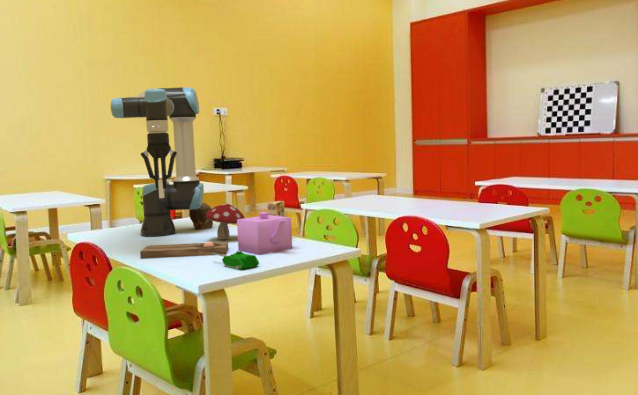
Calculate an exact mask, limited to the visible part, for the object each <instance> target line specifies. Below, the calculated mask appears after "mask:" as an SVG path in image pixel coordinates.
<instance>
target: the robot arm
mask: <svg viewBox="0 0 638 395" xmlns="http://www.w3.org/2000/svg"><path fill="white" fill-rule="evenodd" d="M196 92H197V91H196V90H195V89H194V88H193V87H185V86H183V87H182V86H181V87H159V88H158V87H157V88H150V89H149V88H148V89H145V90H144V91H142V92H141V93H139V94H138V95H134V96H128V97H127V96H126V97H121V96H120V97H114V98H112V99H111V101H110V113H111V115H112V116H113V117H114V119H134V118H145V124H146V132H147V134H146V137H147V138H146V140H147V147H146V150H144V151H142V152H141V153H140V157H142V159H143V160H144V163H145V167H146V170H147V171H146V172H147V173H148V176H149V178H150V179H151V180H152V179H153V180H154V183H149V184H146V185H143V187H142V194H141V196H142V207H143V208H142V209H143V221H142V224H141V229H140V235H141V236H142V237H161V236H163V237H164V236H170V235H174V234H176V231H177V229H176V226H175V223H174V221H173V219H172V218H173V217H172V216H171V214H172V213H171V211H180V210H181V211H184V210H188V211H189V209H190V210H191V209H199V208H200V207H201V205H202V203H203V202H204V201H203V200H204V192H205V189H204V187H205V186H204V183H202V182H200V181H201V180H200V178H199V176H197V173H196V172H197V171H196V170H197V169H196V156H195V155H196V154H195V139H194V138H195V137H194V121H195V120H196V119H197V115H199V113H200V105H199V104H200V103H199V98H198V95H197V93H196ZM168 118H169V120H170V121H171V122H172V126H173V142H174V149H172V147H171V145H170V134H169V133H168V132H169V120H168ZM149 155H150V156H151V157H152V159H153V168H152V165H151V162H150V159H149ZM168 156H170V158H169V164H168V168H167V161H166V157H168ZM159 159H160V165H161V166H160V167H161V179H160V168H159ZM174 164H175V177H174V179H173V180H172V184H171V183H170V182H169V181H168V180H167V179H169V178H171V177H172V174H173V169H174Z"/></svg>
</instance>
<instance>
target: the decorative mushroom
mask: <svg viewBox="0 0 638 395" xmlns="http://www.w3.org/2000/svg"><path fill="white" fill-rule="evenodd" d="M206 217H207V218H208V219H209V220H212V221H213V222H216V223H219V225H218V227H217V232H216V235H217V237H216V238H217V239H218V240H223V241H224V240H228V239H230V238H231V235H230V229H229V225H230V224H231V225H237V219H244V218H245V215H244V214H243V213H242V211H241V210H239V209H238V208H237V207H235V206H234V205H232V204H229V203H222V204H219V205H216V206H214V207H211V209H210V210H209V211H208V212H207V214H206Z"/></svg>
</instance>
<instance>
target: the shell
mask: <svg viewBox="0 0 638 395" xmlns="http://www.w3.org/2000/svg"><path fill="white" fill-rule="evenodd" d="M210 209H212V207H211V206H210V205H209V204H208V203H206V202H202V205H201V207H200V208H199V209H191V210H190V209H188V212H189V213H188V217H189V219H190V221H191V223H192V224H193V228H194V229H195V230H209V228H210V229H212V228H213V225H214V224H213V223H214V221H212V220H209V219H208V218H207V217H206V214H207V212H208V211H209V210H210Z"/></svg>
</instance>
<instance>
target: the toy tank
mask: <svg viewBox="0 0 638 395" xmlns="http://www.w3.org/2000/svg"><path fill="white" fill-rule="evenodd" d="M211 256H218V257H219V256H220V257H223V258H222V259H221V260H222V263H223V264H224V266H225V267H226V268H229V269H233V270H238V271H242V270H243V269H245V270H247V269H249V268H255V267H256V268H257V267H258V266H259V264H260V261H259V260H258V258H257V255H255V254H250V253H245V252H243V251H238V250H236V252H235V253H233V254H230V255H227V254H223V255H221V254H216V253H212V255H211Z"/></svg>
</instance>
